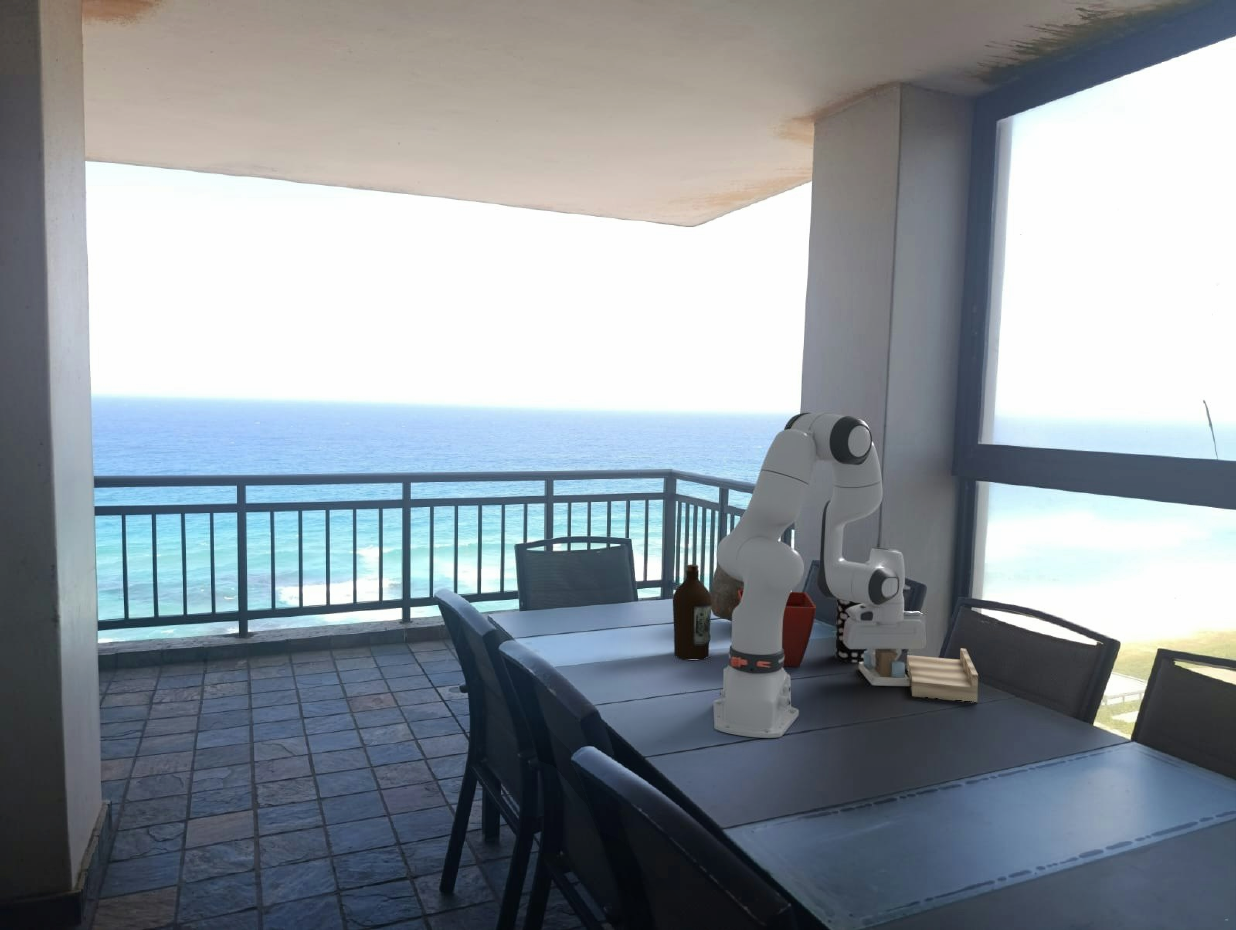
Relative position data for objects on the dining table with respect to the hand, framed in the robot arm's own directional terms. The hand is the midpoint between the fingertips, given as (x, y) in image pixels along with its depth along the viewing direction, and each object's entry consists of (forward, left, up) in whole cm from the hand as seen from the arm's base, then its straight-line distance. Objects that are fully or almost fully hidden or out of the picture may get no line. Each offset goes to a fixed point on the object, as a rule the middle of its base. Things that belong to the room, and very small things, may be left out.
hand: (883, 665), depth 197 cm
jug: (+36, +40, -3) cm, 54 cm away
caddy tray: (0, 0, -3) cm, 3 cm away
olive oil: (+3, +50, -3) cm, 50 cm away
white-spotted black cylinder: (+15, +8, -3) cm, 17 cm away
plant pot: (+7, +28, -3) cm, 29 cm away
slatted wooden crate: (-1, -13, -3) cm, 13 cm away
